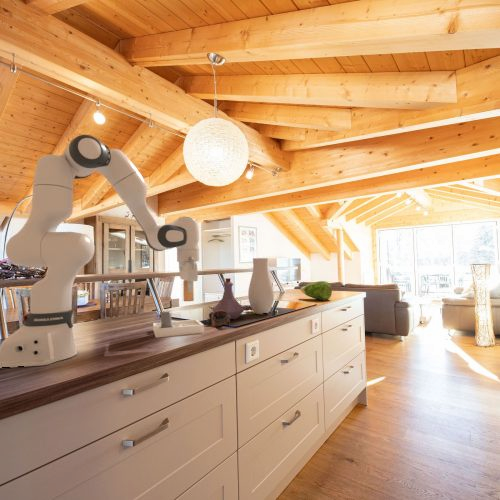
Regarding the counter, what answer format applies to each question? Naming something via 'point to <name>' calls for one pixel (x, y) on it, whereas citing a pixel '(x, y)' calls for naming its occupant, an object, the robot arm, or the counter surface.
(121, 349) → the counter surface
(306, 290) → the lettuce
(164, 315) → the charcoal jaw peg
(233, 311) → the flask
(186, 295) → the orange cylinder
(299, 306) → the counter surface
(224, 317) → the pottery mug
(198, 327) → the housing
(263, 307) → the vase
